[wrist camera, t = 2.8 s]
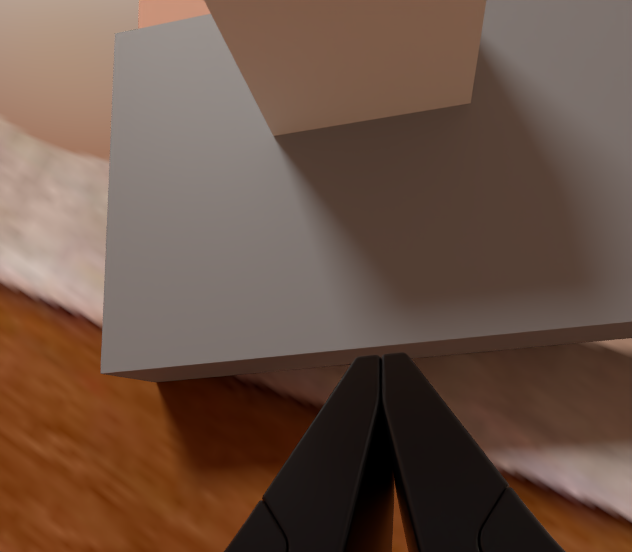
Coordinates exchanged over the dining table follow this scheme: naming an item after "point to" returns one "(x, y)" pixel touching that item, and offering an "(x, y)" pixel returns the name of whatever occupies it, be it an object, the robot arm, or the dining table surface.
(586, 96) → the deck
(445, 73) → the card box
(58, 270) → the dining table surface
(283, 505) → the robot arm
